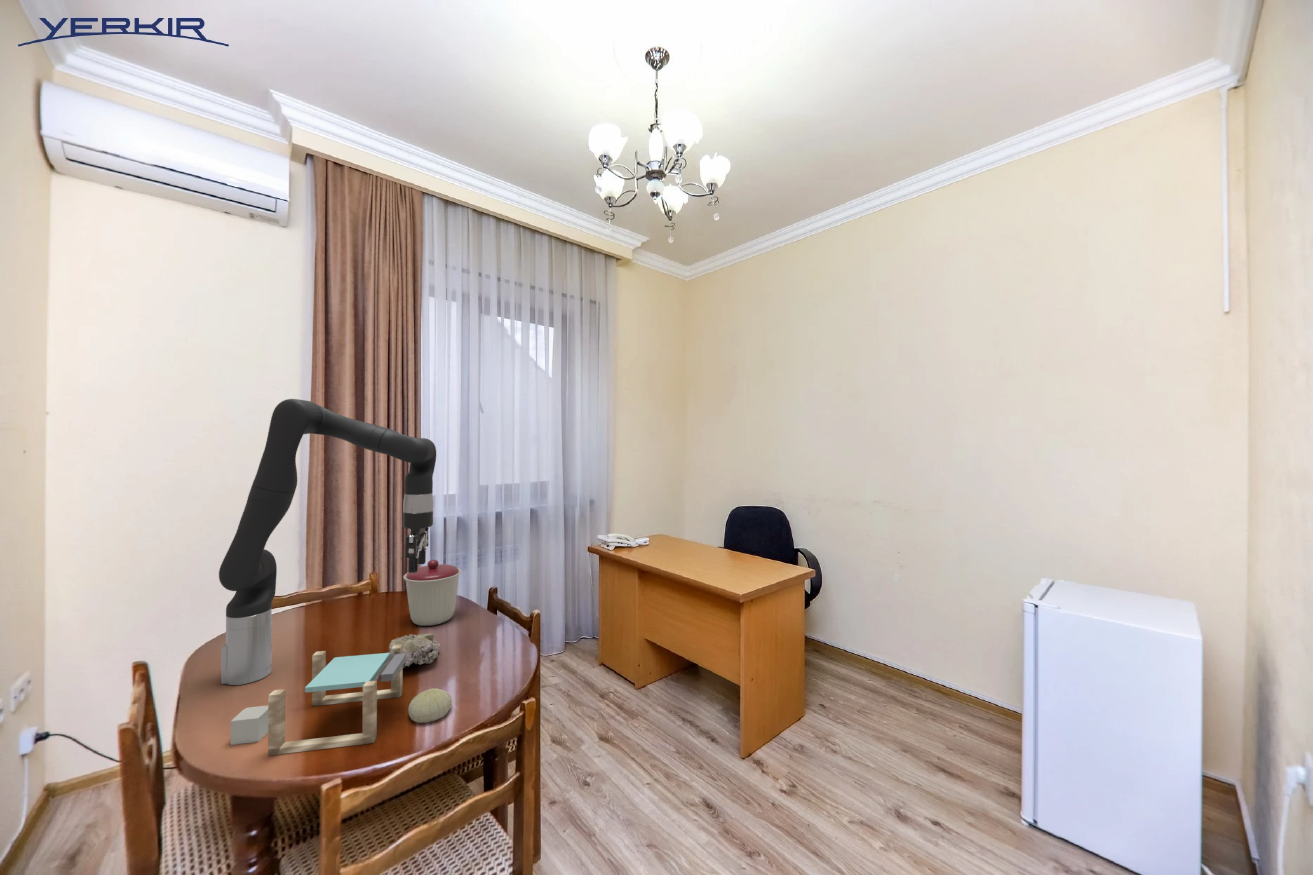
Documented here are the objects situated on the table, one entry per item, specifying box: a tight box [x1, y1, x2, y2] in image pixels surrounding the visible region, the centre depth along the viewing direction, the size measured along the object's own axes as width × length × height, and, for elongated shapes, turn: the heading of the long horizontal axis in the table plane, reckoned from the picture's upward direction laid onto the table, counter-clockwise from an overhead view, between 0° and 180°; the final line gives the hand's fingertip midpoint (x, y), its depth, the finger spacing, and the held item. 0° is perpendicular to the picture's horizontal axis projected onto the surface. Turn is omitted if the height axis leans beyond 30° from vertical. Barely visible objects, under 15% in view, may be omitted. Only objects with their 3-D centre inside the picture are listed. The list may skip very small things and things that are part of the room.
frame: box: [267, 645, 404, 757], centre depth 107 cm, size 19×20×12 cm
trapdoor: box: [304, 652, 406, 693], centre depth 108 cm, size 16×14×2 cm
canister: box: [403, 559, 462, 627], centre depth 166 cm, size 18×18×21 cm
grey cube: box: [230, 705, 268, 746], centre depth 102 cm, size 5×5×5 cm
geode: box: [388, 633, 441, 669], centre depth 136 cm, size 17×9×15 cm
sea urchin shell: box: [407, 687, 453, 724], centre depth 110 cm, size 9×8×8 cm
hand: (417, 567), depth 133 cm, fingers open, 8 cm apart
